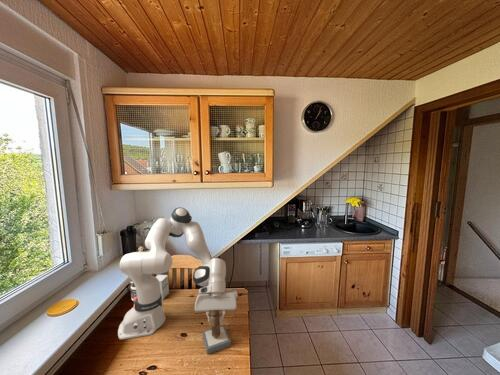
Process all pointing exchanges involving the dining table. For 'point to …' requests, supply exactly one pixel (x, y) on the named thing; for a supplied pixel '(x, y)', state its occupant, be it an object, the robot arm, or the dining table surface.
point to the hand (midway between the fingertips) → (215, 322)
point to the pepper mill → (215, 323)
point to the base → (216, 340)
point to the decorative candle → (133, 290)
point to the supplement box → (163, 285)
